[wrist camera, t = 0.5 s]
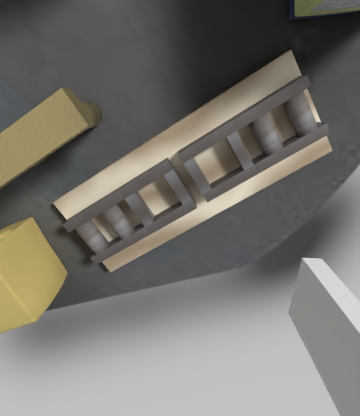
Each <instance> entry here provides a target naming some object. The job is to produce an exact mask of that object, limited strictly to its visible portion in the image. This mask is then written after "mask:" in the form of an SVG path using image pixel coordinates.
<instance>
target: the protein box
mask: <svg viewBox="0 0 360 416" xmlns="http://www.w3.org/2000/svg"><path fill="white" fill-rule="evenodd" d="M354 12H360V0H289V19H290V20H301V19H308V18H316V17H324V16H332V15H339V14H346V13H354Z"/></svg>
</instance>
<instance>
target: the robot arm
mask: <svg viewBox="0 0 360 416" xmlns="http://www.w3.org/2000/svg"><path fill="white" fill-rule="evenodd" d="M289 315H290V317H291V319H292V321H293V323H294V325H295V327H296V329H297V331H298V333H299V335H300V337H301V339H302V341H303V342H304V345H305V346H306V348H307V351H308V352H309V354H310V356H311V358H312V360H313V362H314V364H315V366H316V368H317V370H318V372H319V374H320V376H321V378H322V380H323V382H324V384H325V386H326V388H327V390H328V392H329V394H330V396H331V398H332V400H333V402H334V404H335V406H336V408H337V410H338V412H339V414H340V416H360V302H359V301H358V300H357V299H356V298H355V296H354V295H353V294H352V293H351V292H350V291H349V290H348V288H347V287H346V286H345V285H344V284H343V283H342V282H341V280H340V279H339V278H338V277H337V276H336V275H335V274H334V272H333V271H332V270H331V269H330V268H329V267H328V265H327V264H326V263H325V262H324V261H323V260H322V259H315V258H302V262H301V266H300V270H299V273H298V277H297V281H296V285H295V290H294V293H293V297H292V302H291V305H290V309H289Z"/></svg>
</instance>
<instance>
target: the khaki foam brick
mask: <svg viewBox="0 0 360 416" xmlns="http://www.w3.org/2000/svg"><path fill="white" fill-rule="evenodd" d="M101 118H102V114H101V111H100V109H99V107H98V106H97V105H96V104H94V103H92V102H80V101H79V100H78V99H77V97H76V96H75V94H74V93H73V91H72V90H71V89H67V88H61V89H60V90H58V91H57V92H56V93H54V94H53V95H52V96H50V97H49V98H47V99H46V100H45V101H43V102H42V103H41V104H39V105H38V106H37V107H35V108H34V109H33V110H31V111H30V112H29V113H27V114H26V115H25V116H23V117H22V118H21V119H19V120H18V121H16V122H15V123H14V124H12V125H11V126H10V127H8V128H7V129H6V130H4V131H3V132H2V133H0V189H1V188H2V187H4V186H5V185H7V184H8V183H10V182H11V181H13V180H14V179H15V178H17V177H18V176H20V175H21V174H23V173H24V172H26V171H27V170H29V169H30V168H31V167H33V166H36V165H38V164H40V163H42V162H44V161H46V160H47V159H48V157H49V155H50V154H52V153H53V152H55V151H56V150H58V149H59V148H61V147H62V146H63V145H65V144H66V143H68V142H69V141H71V140H72V139H74V138H75V137H77V136H78V135H79V134H81V133H82V132H84V131H85V130H87V129H89V128H92V127H95V126H97V125H98V124H99V123H100V121H101Z"/></svg>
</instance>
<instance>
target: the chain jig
mask: <svg viewBox="0 0 360 416" xmlns="http://www.w3.org/2000/svg"><path fill="white" fill-rule="evenodd" d="M309 87H311V84H310V81H309V79H308V76H307V75H303V76H302V75H301V72H300V70H299V67H298V65H297V63H296V60H295V58H294V55H293V53H292V50H290V51H287V52H286V53H284V54H282V55H281V56H279V57H278V58H276V59H275V60H273V61H271V62H270V63H268V64H267V65H265V66H264V67H262V68H261V69H259V70H257V71H256V72H254V73H253V74H251V75H250V76H248V77H247V78H245V79H243V80H242V81H240V82H239V83H237V84H236V85H234V86H233V87H231V88H229V89H228V90H226V91H225V92H223V93H222V94H220V95H219V96H217V97H215V98H214V99H212V100H211V101H209V102H208V103H206V104H205V105H203V106H201V107H200V108H198V109H197V110H195V111H194V112H192V113H191V114H189V115H187V116H186V117H184V118H183V119H181V120H180V121H178V122H177V123H175V124H173V125H172V126H170V127H169V128H167V129H166V130H164V131H163V132H161V133H159V134H158V135H156V136H155V137H153V138H152V139H150V140H149V141H147V142H145V143H144V144H142V145H141V146H139V147H138V148H136V149H134V150H133V151H131V152H130V153H128V154H127V155H125V156H124V157H122V158H120V159H119V160H117V161H116V162H114V163H113V164H111V165H110V166H108V167H106V168H105V169H103V170H102V171H100V172H99V173H97V174H96V175H94V176H92V177H91V178H89V179H88V180H86V181H85V182H83V183H82V184H80V185H78V186H77V187H75V188H74V189H72V190H71V191H69V192H68V193H66V194H64V195H63V196H61V197H60V198H58V199H57V200H56V201H54V202H53V204H54V205H55V206H56V207H57V209H58V210H59V211H60V212H61V213H62V215H63V216H64V217H65V218H66V219H67V221H66V222H65V223H64V224H63V225H62V226H63V227H64V228H65V229H66V230H67V231H68V233H69V232H71V231H73V230H74V229H75V230H76V231H77V233H78V234H79V235H80V236H81V238H82V239H83V240H84V241H85V242H86V244H87V245H88V246H89V247H90V248H91V250H92V251H93V254H92V256H91V258H90V259H91V260H92V261H93V262H94V263H95V265H97V264H99V263H101V262H102V263H103V264H104V265H105V266H106V268H107V269H108V270H109V271H110V272H112V271H114V270H116V269H117V268H119V267H121V266H123V265H125V264H126V263H128V262H130V261H132V260H134V259H136V258H137V257H139V256H141V255H143V254H145V253H147V252H148V251H150V250H152V249H154V248H156V247H157V246H159V245H161V244H163V243H165V242H167V241H168V240H170V239H172V238H174V237H176V236H178V235H179V234H181V233H183V232H185V231H187V230H188V229H190V228H192V227H194V226H196V225H198V224H199V223H201V222H203V221H205V220H207V219H209V218H210V217H212V216H214V215H216V214H218V213H219V212H221V211H223V210H225V209H227V208H229V207H230V206H232V205H234V204H236V203H238V202H240V201H241V200H243V199H245V198H247V197H249V196H250V195H252V194H254V193H256V192H258V191H260V190H261V189H263V188H265V187H267V186H269V185H271V184H272V183H274V182H276V181H278V180H280V179H281V178H283V177H285V176H287V175H289V174H291V173H292V172H294V171H296V170H298V169H300V168H302V167H303V166H305V165H307V164H309V163H311V162H312V161H314V160H316V159H318V158H320V157H322V156H323V155H325V154H327V153H329V152H331V151H333V150H332V148H331V146H330V143H329V141H328V138H327V135H329V134H330V131H329V128H328V126H327V123H321V121H320V119H319V116H318V114H317V111H316V109H315V107H314V104H313V102H312V99H311V97H310V94H309V92H308V89H307V88H309Z"/></svg>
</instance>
